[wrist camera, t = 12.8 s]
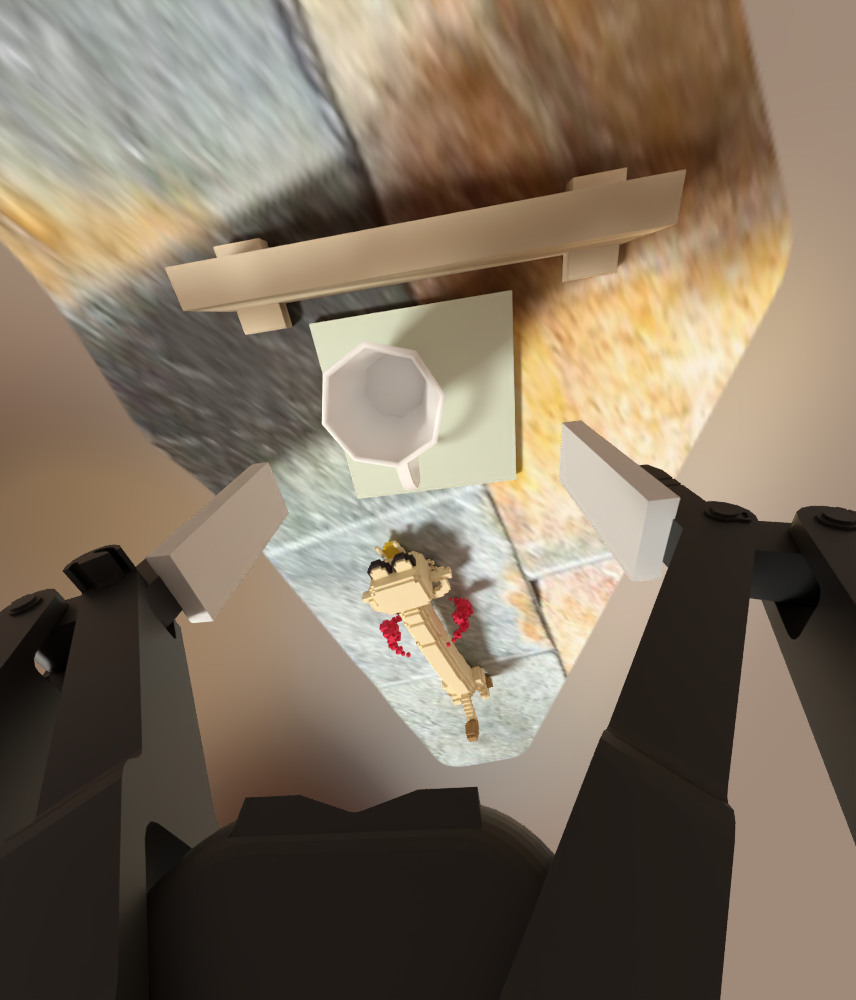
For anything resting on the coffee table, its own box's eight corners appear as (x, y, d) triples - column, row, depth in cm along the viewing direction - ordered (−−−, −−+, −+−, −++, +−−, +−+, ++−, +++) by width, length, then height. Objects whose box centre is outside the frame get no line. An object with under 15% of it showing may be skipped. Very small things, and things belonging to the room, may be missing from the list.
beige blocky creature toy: (504, 662, 44) (434, 521, 31) (521, 738, 37) (438, 594, 24) (434, 679, 46) (340, 552, 33) (436, 754, 39) (318, 629, 26)
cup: (432, 320, 23) (431, 322, 16) (458, 453, 28) (466, 500, 21) (336, 344, 24) (295, 357, 17) (377, 470, 29) (358, 521, 22)
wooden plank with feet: (216, 251, 22) (149, 232, 17) (626, 173, 20) (693, 123, 15) (246, 334, 25) (196, 340, 19) (615, 273, 23) (671, 260, 17)
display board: (312, 323, 24) (308, 323, 24) (509, 290, 23) (512, 290, 22) (359, 494, 31) (357, 498, 30) (514, 475, 30) (516, 479, 29)
